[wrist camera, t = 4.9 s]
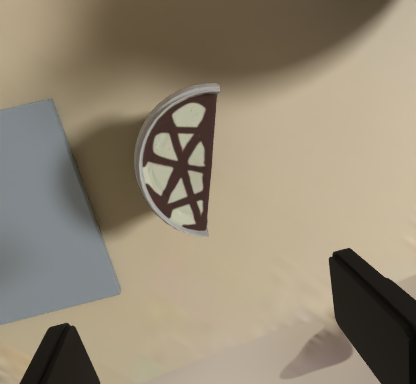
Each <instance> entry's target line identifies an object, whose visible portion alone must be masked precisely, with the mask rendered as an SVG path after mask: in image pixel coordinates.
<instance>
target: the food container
mask: <svg viewBox="0 0 416 384" xmlns="http://www.w3.org/2000/svg"><path fill="white" fill-rule="evenodd" d="M219 92H221V90H220V86H219V85H218V83H204V84H198V85H193V86H190V87H187V88H184V89H181V90H179V91H177V92H175V93H173V94H172V95H170V96H168V97H167V98H166V99H164V100H163V101H162V102H160V103H159V104H158V105H157V106H156V107H155V108H154V109H153V111H152V112H151V113H150V114H149V116H148V117H147V119H146V120H145V122H144V123H143V125H142V127H141V130H140V132H139V134H138V137H137V141H136V145H135V151H134V169H135V175H136V179H137V183H138V185H139V188H140V190H141V192H142V195H143V197H144V198H145V200H146V202H147V203H148V205H149V206H150V208H151V209H152V210H153V211H154V212H155V213H156V215H157V216H158V217H160V218H161V219H162V220H163V221H164V222H166V223H167V224H169V225H170V226H172V227H174V228H175V229H177V230H180V231H182V232H185V233H188V234H191V235H195V236H200V237H209V234H208V229H207V212H208V201H209V189H210V178H211V168H212V152H213V139H214V126H215V113H216V99H217V94H218V93H219Z"/></svg>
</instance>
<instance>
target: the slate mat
mask: <svg viewBox="0 0 416 384" xmlns="http://www.w3.org/2000/svg"><path fill="white" fill-rule="evenodd" d="M120 291H121V288H120V285H119V282H118V279H117V277H116V274H115V271H114V268H113V266H112V263H111V260H110V257H109V255H108V252H107V249H106V246H105V243H104V241H103V238H102V235H101V232H100V230H99V227H98V224H97V221H96V219H95V216H94V213H93V210H92V207H91V205H90V202H89V199H88V196H87V194H86V191H85V188H84V185H83V183H82V180H81V177H80V174H79V172H78V169H77V166H76V163H75V160H74V158H73V155H72V152H71V149H70V147H69V144H68V141H67V138H66V136H65V133H64V130H63V127H62V124H61V122H60V119H59V116H58V113H57V111H56V108H55V105H54V102H53V100H52V99H48V100H43V101H39V102H35V103H30V104H26V105H21V106H17V107H12V108H8V109H3V110H0V325H3V324H6V323H10V322H14V321H18V320H22V319H26V318H30V317H34V316H38V315H42V314H45V313H49V312H53V311H57V310H61V309H65V308H69V307H73V306H77V305H80V304H84V303H88V302H92V301H96V300H100V299H104V298H108V297H112V296H116V295H119V294H120Z"/></svg>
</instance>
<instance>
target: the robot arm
mask: <svg viewBox="0 0 416 384" xmlns="http://www.w3.org/2000/svg"><path fill="white" fill-rule="evenodd" d="M329 266H330V275H331V285H332V294H333V303H334V313H335V318H336V321H337V324H338V325H339V327H340V328H341V330H342V331H343V332H344V334H345V335H346V337H347V338H348V339H349V341H350V342H351V343H352V345H353V346H354V347H355V349H356V350H357V352H358V353H359V354H360V356H361V357H362V358H363V360H364V361H365V362H366V364H367V365H368V366H369V368H370V369H371V370H372V372H373V373H374V375H375V376H376V377H377V379H378V380H379V381H380V383H381V384H416V300H415V299H414V298H412V297H411V296H410V295H409V294H407V293H406V292H405V291H404V290H403V289H401V288H400V287H399V286H398V285H397V284H395V283H394V282H393V281H392V280H390V279H389V278H385V277H384V276H383V275H381V274H380V273H379V272H378V271H377V270H375V269H374V268H373V267H372V266H371V265H369V264H368V263H367V262H366V261H365V260H364V259H362V258H361V257H360V256H359V255H358V254H356V253H355V252H354V251H353V250H352V249H350V248H347V249H343V250H339V251H335V252H333V257H330V258H329ZM20 384H100V381H99V378H98V376H97V374H96V372H95V370H94V367H93V365H92V363H91V361H90V358H89V356H88V354H87V352H86V350H85V347H84V345H83V343H82V341H81V338H80V336H79V334H78V332H77V330H76V328H75V326H70V325H69V324H68V323H64V324H60V325H56V326H53V327H50V328H49V329H48V330H47V332H46V334H45V336H44V338H43V340H42V342H41V344H40V345H39V347H38V349H37V351H36V353H35V355H34V357H33V359H32V361H31V363H30V365H29V367H28V369H27V370H26V372H25V374H24V376H23V378H22V380H21V382H20Z"/></svg>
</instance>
